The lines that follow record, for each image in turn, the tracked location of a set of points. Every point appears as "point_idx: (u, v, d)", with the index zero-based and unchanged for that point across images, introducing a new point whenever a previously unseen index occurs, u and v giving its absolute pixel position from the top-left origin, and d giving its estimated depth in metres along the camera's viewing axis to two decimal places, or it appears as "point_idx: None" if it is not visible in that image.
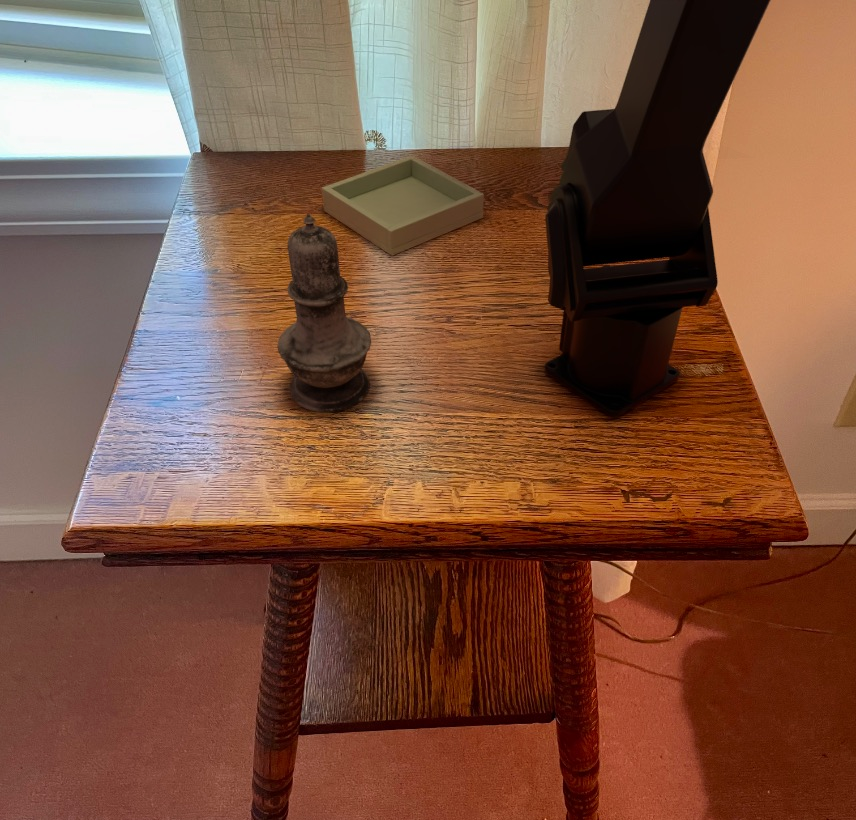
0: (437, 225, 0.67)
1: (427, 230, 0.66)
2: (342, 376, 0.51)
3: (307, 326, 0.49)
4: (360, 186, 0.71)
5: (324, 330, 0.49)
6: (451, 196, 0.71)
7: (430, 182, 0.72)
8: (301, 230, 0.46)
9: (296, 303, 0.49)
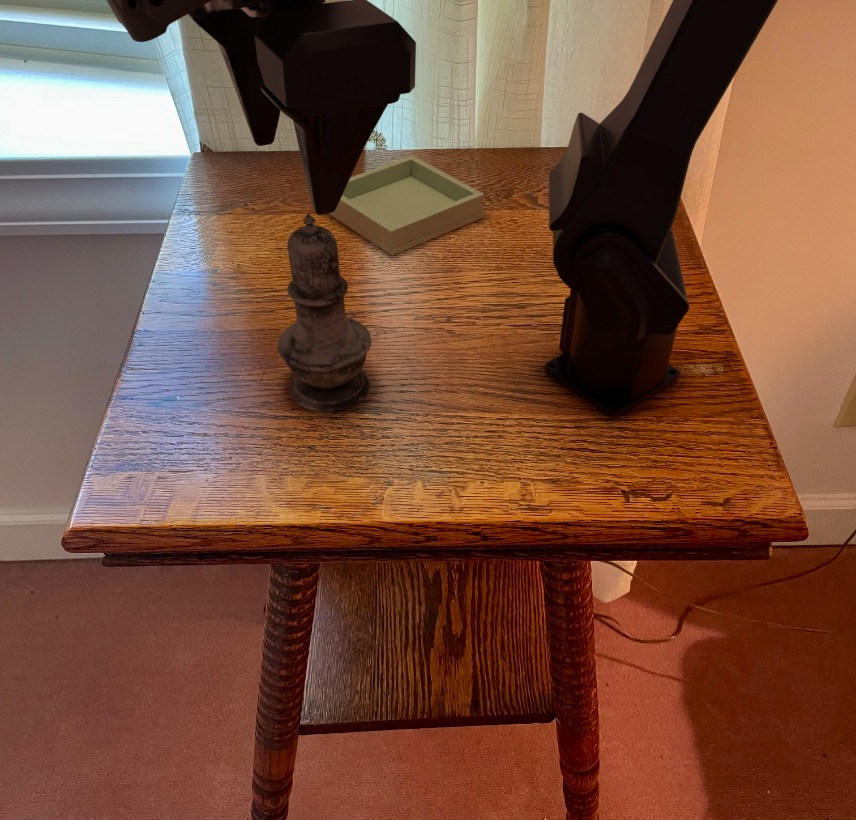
0: (437, 225, 0.67)
1: (427, 230, 0.66)
2: (342, 376, 0.51)
3: (307, 326, 0.49)
4: (360, 186, 0.71)
5: (324, 330, 0.49)
6: (451, 196, 0.71)
7: (430, 182, 0.72)
8: (301, 230, 0.46)
9: (296, 303, 0.49)
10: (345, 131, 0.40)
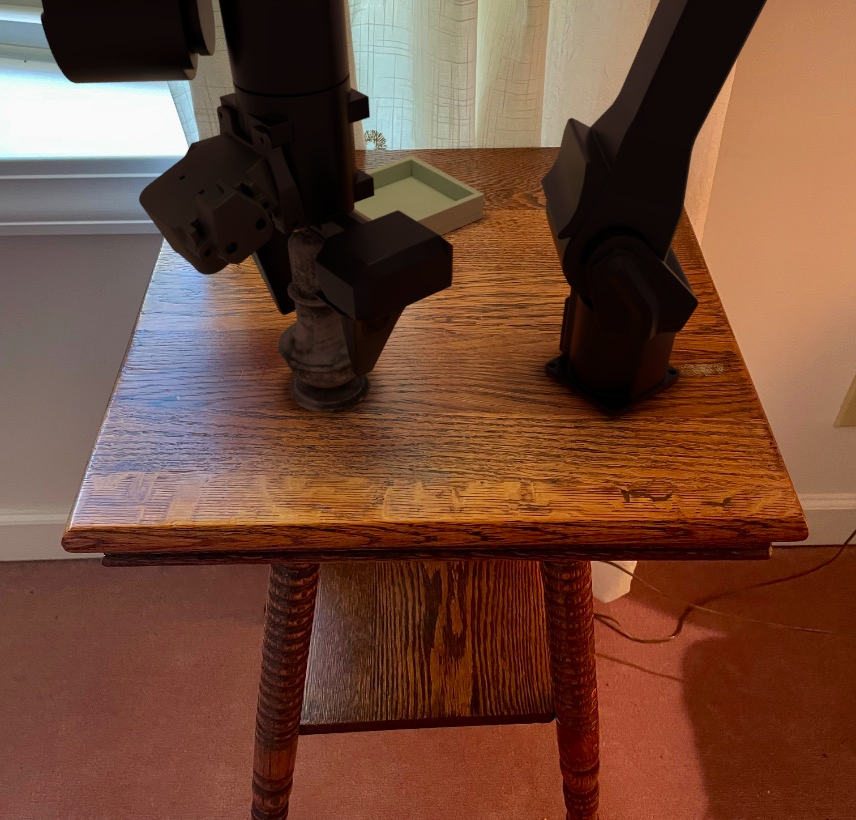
0: (437, 225, 0.67)
1: None
2: (342, 376, 0.51)
3: (307, 326, 0.49)
4: None
5: (324, 330, 0.49)
6: (451, 196, 0.71)
7: (430, 182, 0.72)
8: None
9: (296, 303, 0.49)
10: None
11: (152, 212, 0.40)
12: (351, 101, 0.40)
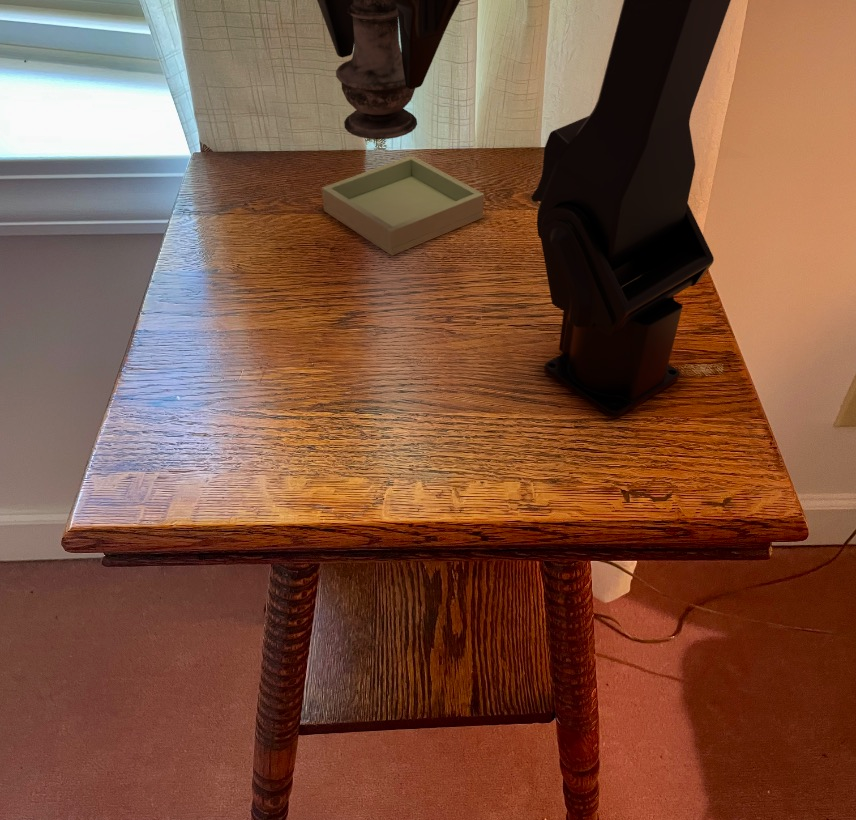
0: (437, 225, 0.67)
1: (427, 230, 0.66)
2: None
3: (385, 46, 0.55)
4: (360, 186, 0.71)
5: (397, 45, 0.55)
6: (451, 196, 0.71)
7: (430, 182, 0.72)
8: None
9: (373, 25, 0.54)
10: (435, 12, 0.51)
11: None
12: None
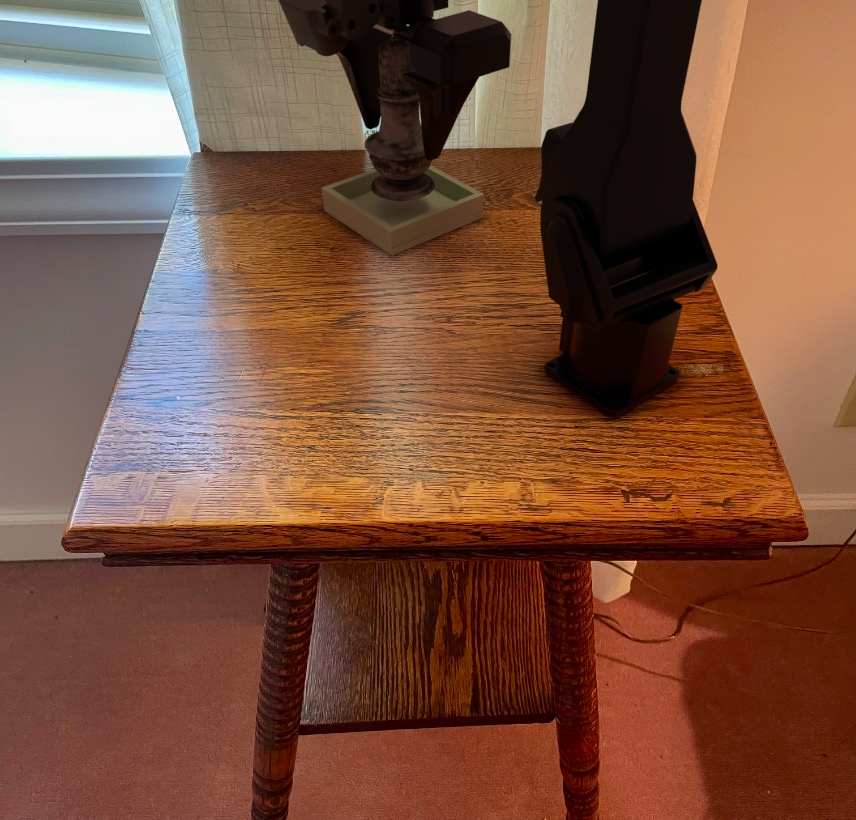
0: (437, 225, 0.67)
1: (427, 230, 0.66)
2: None
3: (408, 123, 0.63)
4: (360, 186, 0.71)
5: (417, 122, 0.64)
6: (451, 196, 0.71)
7: None
8: (393, 40, 0.60)
9: (398, 107, 0.62)
10: (451, 98, 0.60)
11: (290, 4, 0.54)
12: None
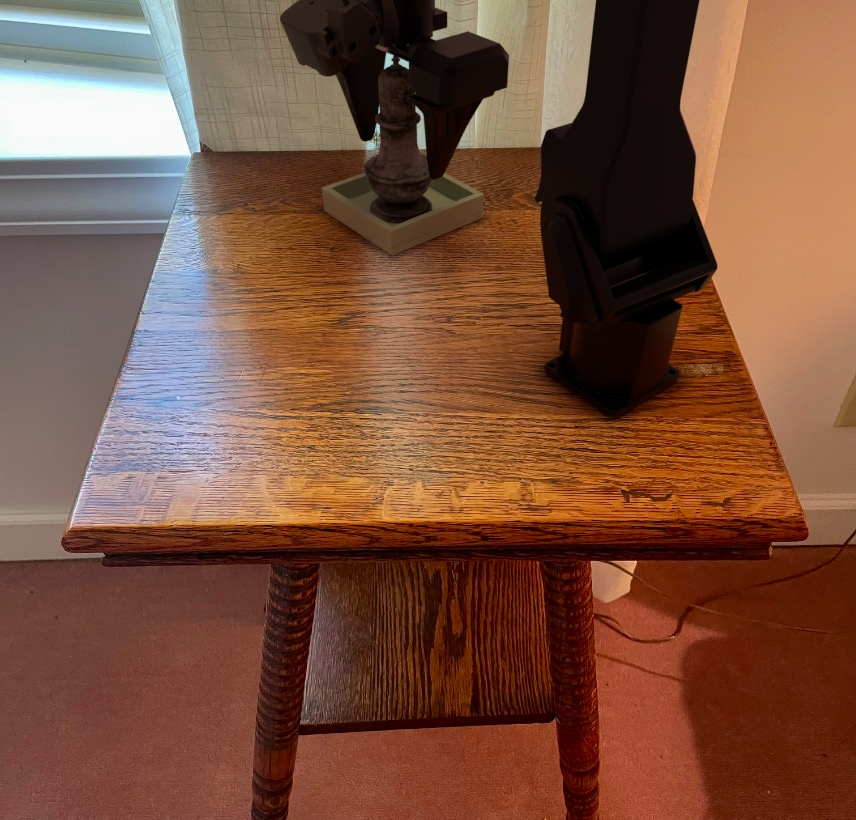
0: (437, 225, 0.67)
1: (427, 230, 0.66)
2: (403, 192, 0.66)
3: (384, 147, 0.65)
4: (360, 186, 0.71)
5: (395, 152, 0.65)
6: (451, 196, 0.71)
7: (430, 182, 0.72)
8: (389, 66, 0.62)
9: None
10: (455, 119, 0.60)
11: (292, 26, 0.55)
12: None
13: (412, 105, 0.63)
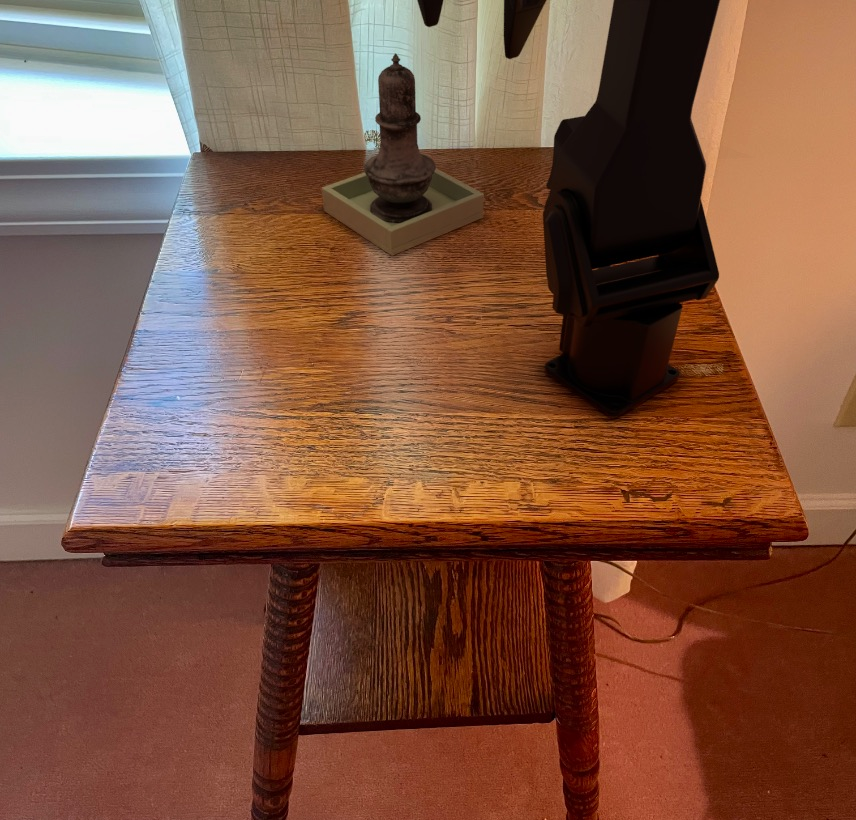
0: (437, 225, 0.67)
1: (427, 230, 0.66)
2: (403, 192, 0.66)
3: (384, 147, 0.65)
4: (360, 186, 0.71)
5: (395, 152, 0.65)
6: (451, 196, 0.71)
7: (430, 182, 0.72)
8: (389, 66, 0.62)
9: None
10: None
11: None
12: None
13: (412, 105, 0.63)
